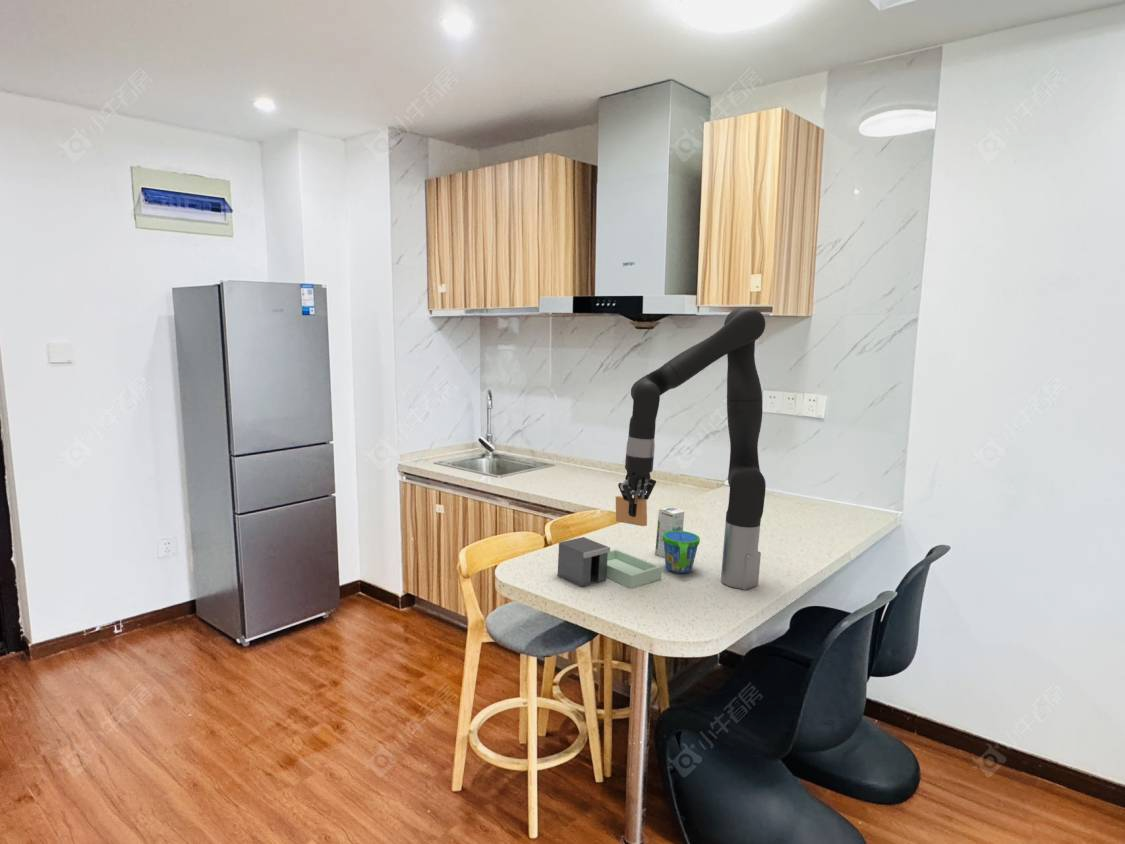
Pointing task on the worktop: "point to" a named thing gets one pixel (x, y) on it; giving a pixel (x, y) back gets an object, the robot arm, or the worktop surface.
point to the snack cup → (680, 550)
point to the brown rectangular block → (623, 513)
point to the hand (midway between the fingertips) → (634, 515)
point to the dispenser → (582, 561)
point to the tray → (631, 569)
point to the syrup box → (668, 526)
